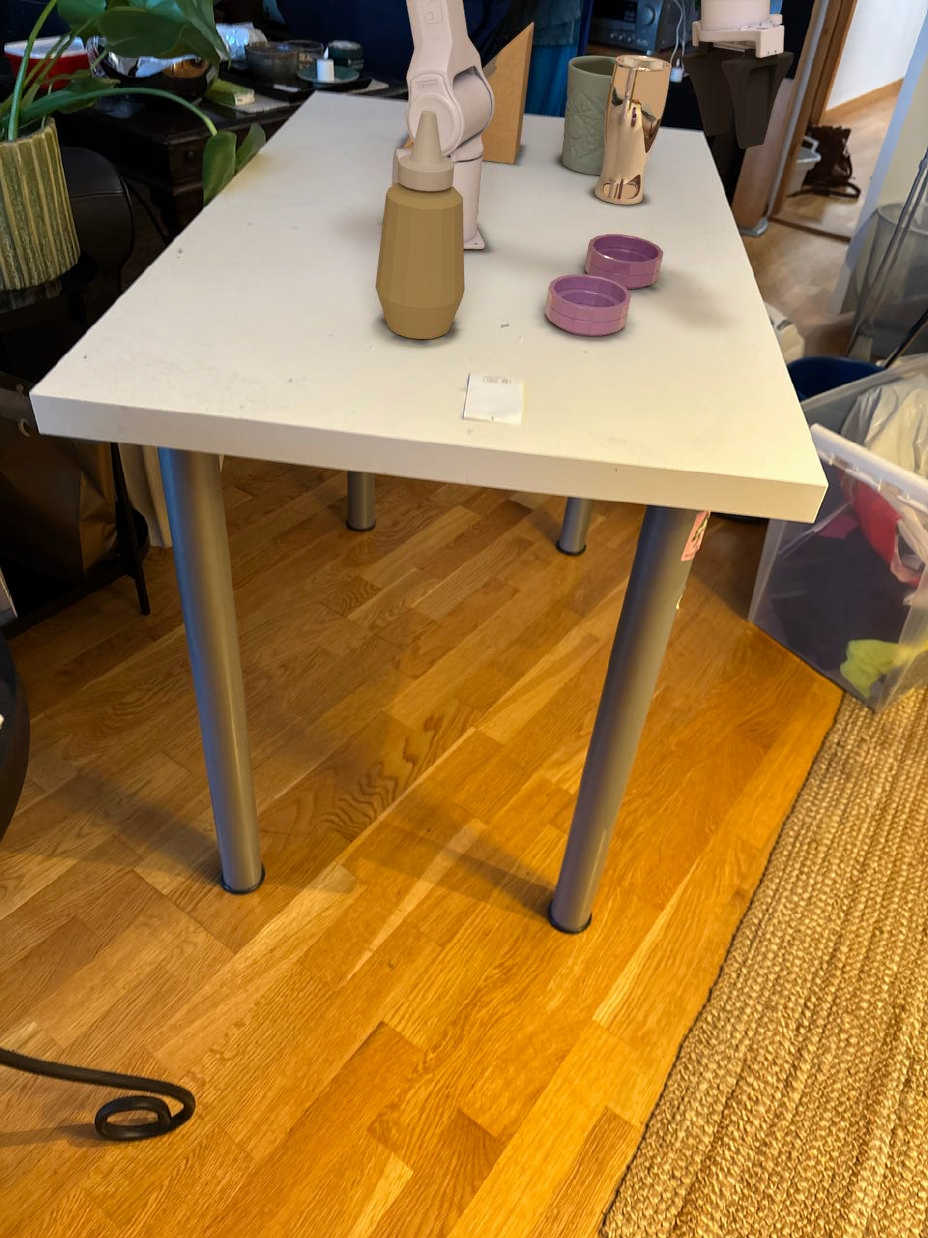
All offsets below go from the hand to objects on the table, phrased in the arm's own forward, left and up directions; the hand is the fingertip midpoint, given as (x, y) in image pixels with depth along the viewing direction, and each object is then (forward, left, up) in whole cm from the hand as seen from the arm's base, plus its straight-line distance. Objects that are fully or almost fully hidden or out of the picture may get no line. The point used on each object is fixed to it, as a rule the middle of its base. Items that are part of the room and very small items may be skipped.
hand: (733, 139), depth 85 cm
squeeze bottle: (-30, -7, -15) cm, 34 cm away
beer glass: (+1, +29, -15) cm, 33 cm away
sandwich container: (-16, +47, -15) cm, 52 cm away
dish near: (-13, -6, -15) cm, 21 cm away
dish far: (-6, +5, -15) cm, 17 cm away
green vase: (+1, +41, -15) cm, 44 cm away
